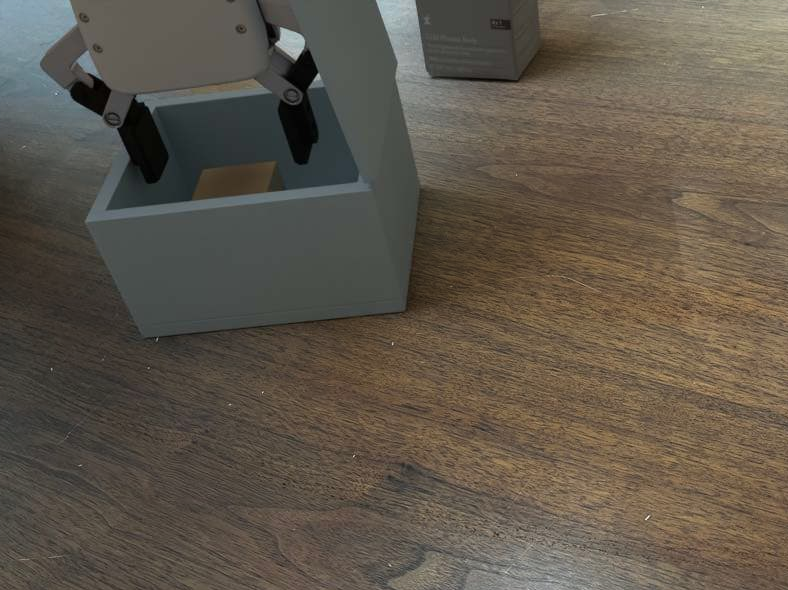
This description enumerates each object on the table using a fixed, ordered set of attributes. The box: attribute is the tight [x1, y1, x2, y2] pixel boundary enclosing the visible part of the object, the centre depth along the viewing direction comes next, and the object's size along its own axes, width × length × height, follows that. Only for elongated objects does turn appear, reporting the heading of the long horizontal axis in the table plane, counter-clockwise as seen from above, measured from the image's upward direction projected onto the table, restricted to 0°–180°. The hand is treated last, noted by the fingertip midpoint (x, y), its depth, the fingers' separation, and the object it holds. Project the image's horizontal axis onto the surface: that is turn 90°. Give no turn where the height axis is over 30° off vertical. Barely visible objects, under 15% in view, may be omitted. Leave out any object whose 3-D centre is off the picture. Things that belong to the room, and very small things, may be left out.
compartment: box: [84, 78, 422, 339], centre depth 70 cm, size 17×14×9 cm
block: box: [191, 161, 286, 201], centre depth 71 cm, size 5×5×5 cm
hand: (231, 162), depth 68 cm, fingers open, 9 cm apart
